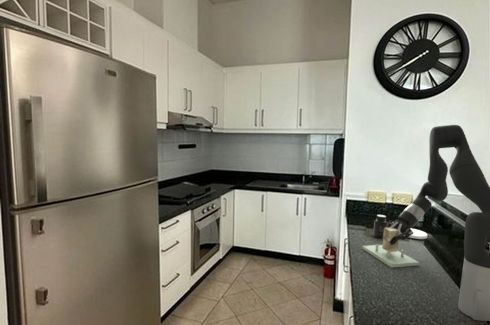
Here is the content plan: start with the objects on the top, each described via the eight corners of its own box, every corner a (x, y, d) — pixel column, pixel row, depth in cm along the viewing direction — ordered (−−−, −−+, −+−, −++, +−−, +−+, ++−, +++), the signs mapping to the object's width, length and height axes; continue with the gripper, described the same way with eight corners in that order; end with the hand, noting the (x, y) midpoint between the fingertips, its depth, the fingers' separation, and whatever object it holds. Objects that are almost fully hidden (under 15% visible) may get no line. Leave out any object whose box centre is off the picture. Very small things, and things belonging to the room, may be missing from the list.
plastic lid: (412, 241, 157) (413, 237, 157) (393, 232, 171) (393, 228, 170) (433, 240, 161) (433, 235, 160) (412, 231, 174) (413, 227, 174)
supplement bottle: (388, 236, 162) (390, 216, 161) (384, 239, 157) (386, 218, 156) (375, 233, 167) (377, 213, 166) (371, 236, 162) (373, 215, 161)
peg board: (418, 265, 127) (419, 255, 126) (391, 267, 124) (392, 257, 123) (386, 247, 146) (387, 238, 146) (362, 248, 143) (363, 240, 143)
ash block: (397, 251, 133) (399, 230, 132) (388, 252, 132) (390, 230, 131) (390, 247, 137) (392, 227, 136) (382, 248, 136) (384, 227, 135)
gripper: (395, 206, 141) (372, 231, 140) (419, 214, 127) (393, 242, 126) (403, 216, 143) (380, 241, 142) (428, 225, 129) (402, 253, 128)
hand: (386, 241), depth 134 cm, fingers closed on ash block, 4 cm apart
